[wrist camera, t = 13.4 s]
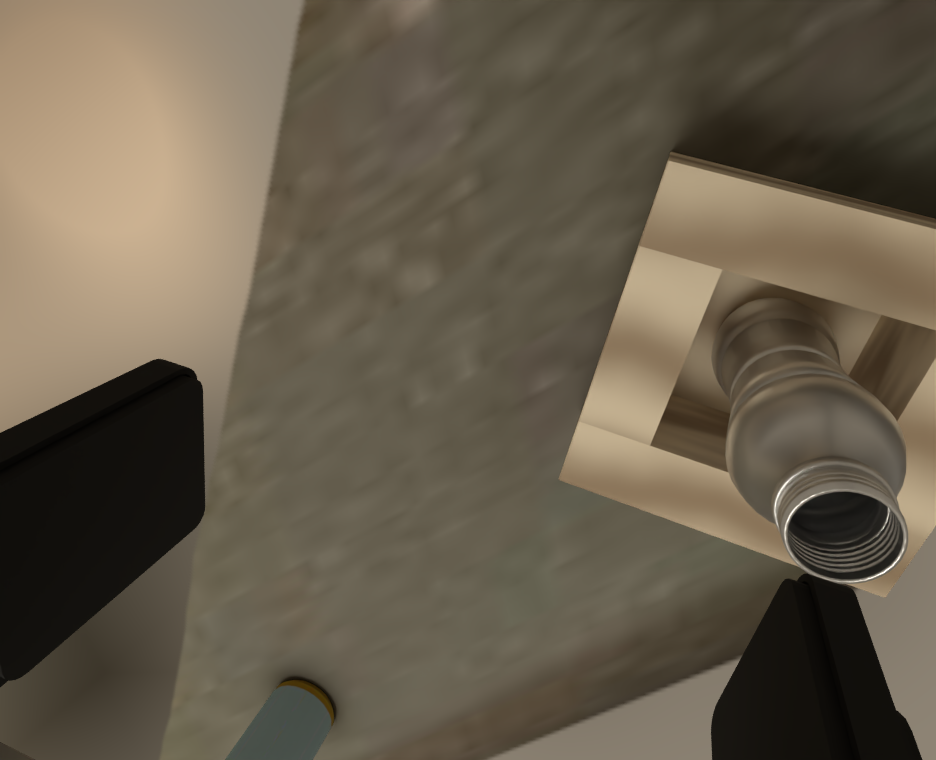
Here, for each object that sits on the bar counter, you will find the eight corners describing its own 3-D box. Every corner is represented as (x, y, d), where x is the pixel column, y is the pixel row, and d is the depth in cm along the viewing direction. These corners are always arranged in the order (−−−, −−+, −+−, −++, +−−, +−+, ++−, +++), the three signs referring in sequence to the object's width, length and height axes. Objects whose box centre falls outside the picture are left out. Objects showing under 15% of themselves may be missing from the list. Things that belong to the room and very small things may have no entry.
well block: (670, 151, 36) (668, 160, 28) (1007, 237, 33) (1111, 274, 25) (580, 414, 44) (558, 479, 36) (845, 505, 41) (885, 597, 33)
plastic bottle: (735, 408, 40) (781, 639, 22) (690, 315, 38) (701, 482, 21) (845, 370, 37) (998, 598, 19) (801, 268, 36) (921, 414, 18)
